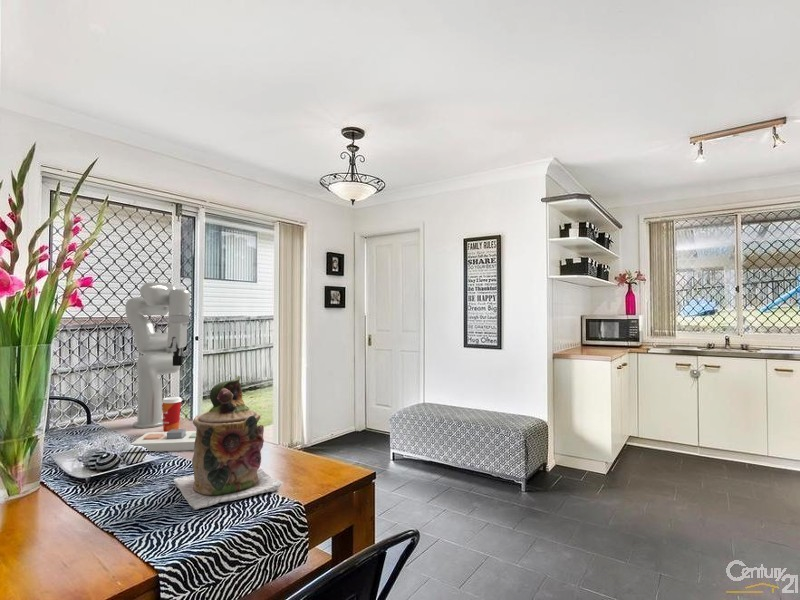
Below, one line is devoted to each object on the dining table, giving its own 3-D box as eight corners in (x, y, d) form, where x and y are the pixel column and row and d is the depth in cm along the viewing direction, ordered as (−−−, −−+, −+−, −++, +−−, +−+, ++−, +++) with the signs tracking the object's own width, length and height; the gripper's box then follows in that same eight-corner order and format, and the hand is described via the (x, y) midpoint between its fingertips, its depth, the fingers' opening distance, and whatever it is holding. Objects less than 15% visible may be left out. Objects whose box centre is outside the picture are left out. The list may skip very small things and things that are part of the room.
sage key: (193, 438, 174) (193, 432, 174) (207, 438, 175) (207, 432, 175) (189, 442, 169) (189, 436, 169) (203, 442, 170) (204, 435, 170)
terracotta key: (148, 440, 172) (148, 434, 172) (163, 439, 173) (163, 433, 173) (143, 444, 167) (143, 437, 167) (158, 443, 167) (158, 437, 168)
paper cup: (161, 430, 191) (162, 397, 192) (181, 428, 194) (182, 396, 195) (160, 434, 184) (161, 400, 184) (180, 433, 187) (181, 399, 188)
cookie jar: (170, 484, 132) (174, 375, 133) (252, 467, 148) (254, 369, 149) (194, 513, 113) (198, 386, 114) (285, 490, 129) (288, 378, 130)
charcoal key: (171, 435, 173) (171, 429, 173) (185, 435, 174) (185, 428, 174) (166, 439, 168) (166, 432, 168) (181, 438, 169) (181, 432, 169)
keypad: (147, 439, 177) (147, 432, 177) (216, 437, 181) (217, 430, 181) (130, 452, 161) (130, 443, 161) (206, 449, 165) (207, 441, 165)
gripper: (174, 319, 187) (173, 363, 187) (162, 320, 173) (160, 367, 172) (193, 319, 189) (192, 363, 188) (183, 320, 174) (181, 367, 173)
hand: (177, 365), depth 180 cm, fingers closed
